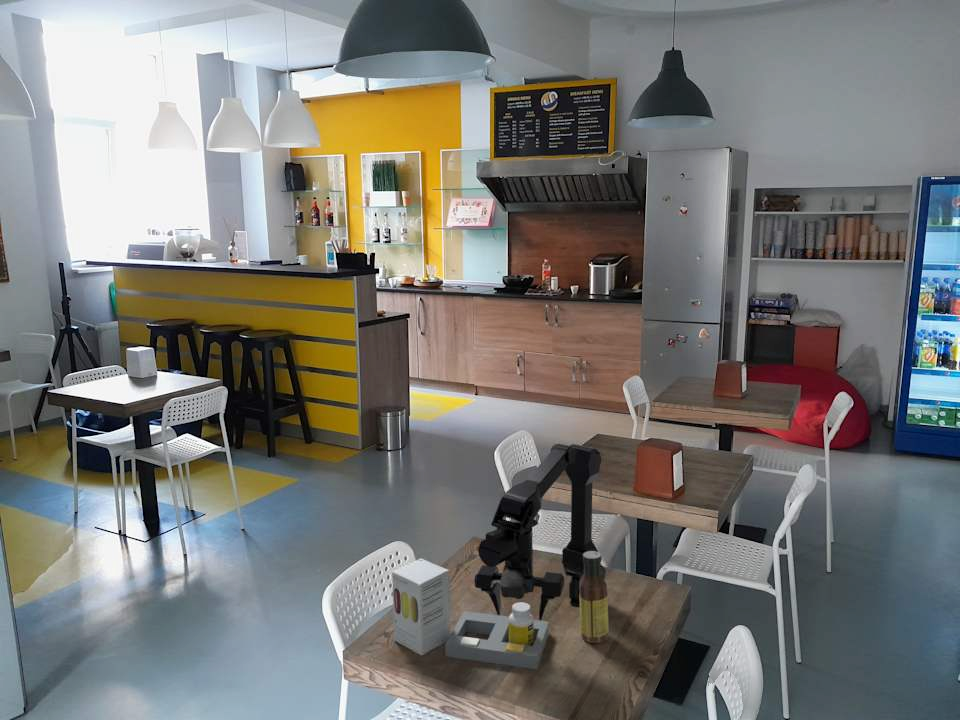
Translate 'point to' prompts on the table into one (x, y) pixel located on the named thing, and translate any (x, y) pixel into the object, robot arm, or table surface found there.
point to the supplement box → (421, 606)
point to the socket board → (495, 641)
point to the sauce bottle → (593, 600)
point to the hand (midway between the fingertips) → (519, 616)
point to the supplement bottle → (521, 624)
